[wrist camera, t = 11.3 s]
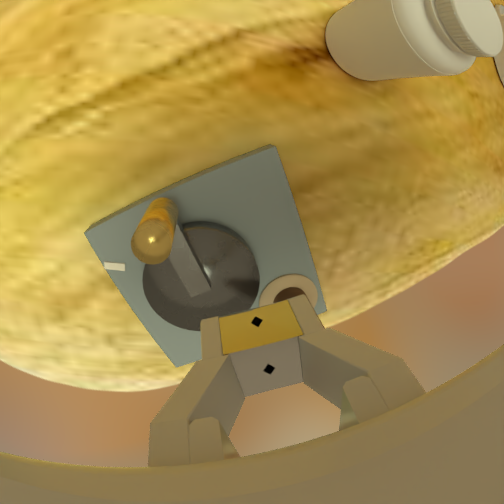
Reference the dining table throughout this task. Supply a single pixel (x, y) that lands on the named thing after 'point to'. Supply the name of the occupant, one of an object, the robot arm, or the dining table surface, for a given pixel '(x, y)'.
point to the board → (227, 214)
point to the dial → (193, 267)
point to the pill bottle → (412, 37)
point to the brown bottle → (290, 295)
